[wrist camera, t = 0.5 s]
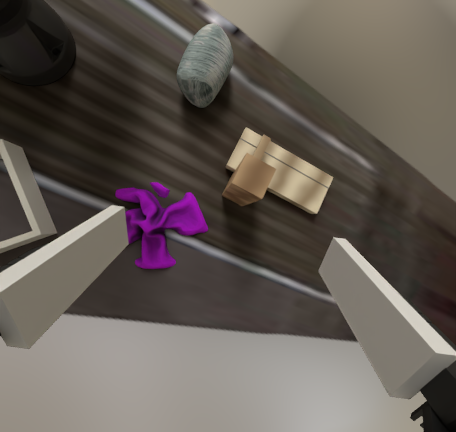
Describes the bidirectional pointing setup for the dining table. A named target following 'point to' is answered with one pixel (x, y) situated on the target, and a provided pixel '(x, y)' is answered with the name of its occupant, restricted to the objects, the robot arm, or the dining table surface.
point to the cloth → (159, 223)
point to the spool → (205, 65)
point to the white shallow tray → (25, 197)
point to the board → (286, 173)
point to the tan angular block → (250, 177)
